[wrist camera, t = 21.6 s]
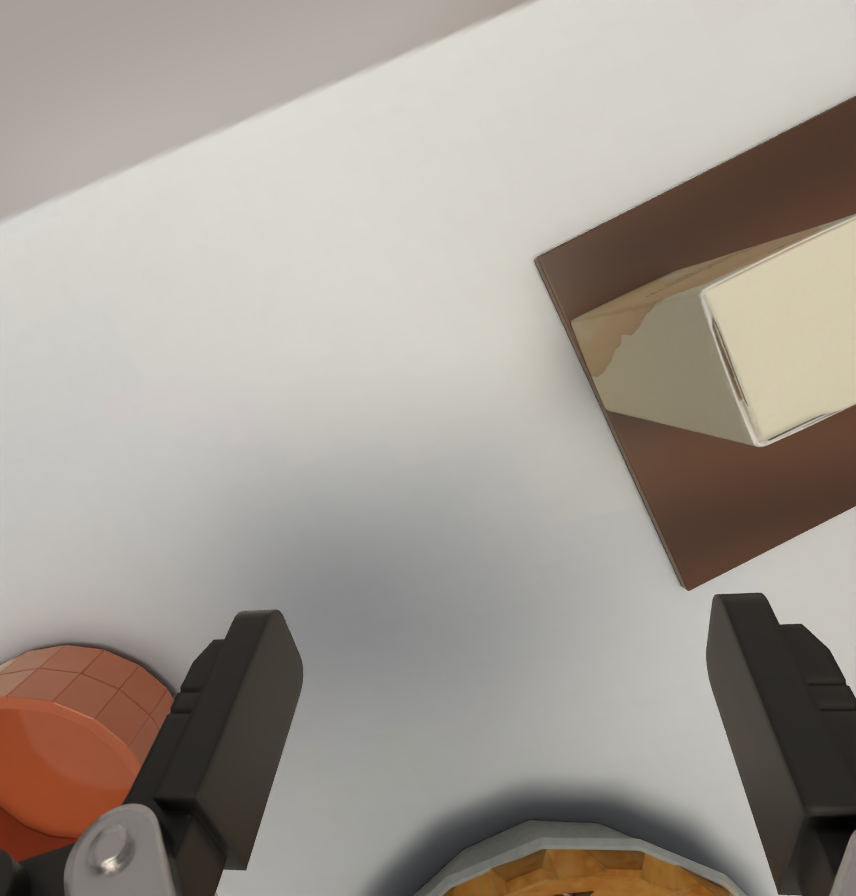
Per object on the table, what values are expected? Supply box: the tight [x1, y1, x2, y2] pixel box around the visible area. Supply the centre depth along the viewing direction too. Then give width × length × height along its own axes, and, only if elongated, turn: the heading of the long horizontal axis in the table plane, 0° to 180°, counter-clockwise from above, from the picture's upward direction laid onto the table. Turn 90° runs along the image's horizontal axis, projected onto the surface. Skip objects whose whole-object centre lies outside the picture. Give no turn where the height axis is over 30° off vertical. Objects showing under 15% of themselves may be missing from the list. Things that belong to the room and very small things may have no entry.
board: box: [534, 96, 856, 591], centre depth 26 cm, size 16×16×1 cm
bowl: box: [0, 645, 174, 862], centre depth 24 cm, size 10×10×4 cm
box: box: [571, 214, 856, 447], centre depth 20 cm, size 5×4×11 cm
